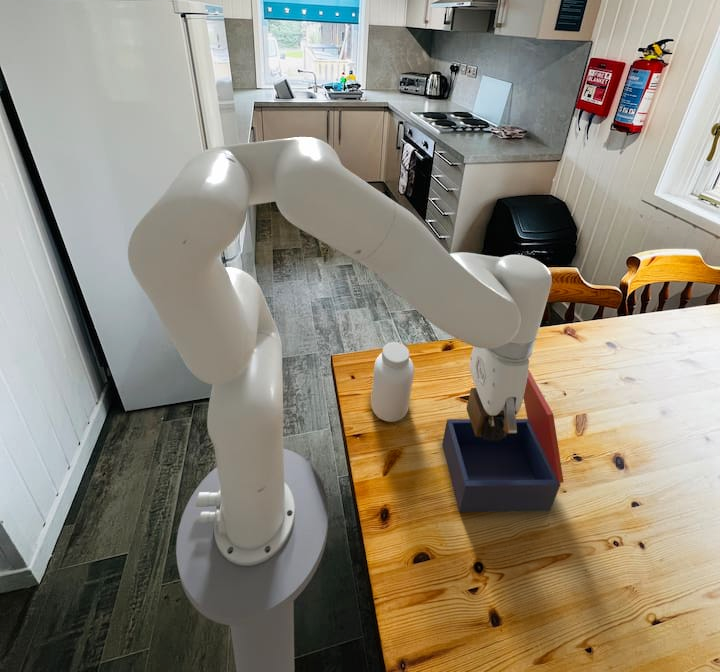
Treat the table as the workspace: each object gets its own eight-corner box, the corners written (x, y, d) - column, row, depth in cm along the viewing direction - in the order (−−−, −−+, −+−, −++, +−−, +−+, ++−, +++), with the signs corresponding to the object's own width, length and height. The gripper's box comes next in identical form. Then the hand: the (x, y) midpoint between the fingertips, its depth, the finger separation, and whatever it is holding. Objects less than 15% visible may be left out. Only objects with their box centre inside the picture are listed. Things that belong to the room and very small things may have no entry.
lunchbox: (458, 512, 65) (465, 486, 62) (442, 443, 75) (446, 418, 73) (550, 510, 66) (560, 484, 63) (520, 443, 76) (528, 418, 74)
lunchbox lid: (548, 415, 57) (553, 414, 57) (514, 354, 67) (519, 353, 67) (558, 483, 63) (563, 482, 63) (527, 417, 74) (531, 416, 74)
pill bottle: (381, 429, 77) (387, 372, 72) (364, 396, 84) (368, 342, 78) (415, 415, 81) (424, 360, 75) (396, 385, 87) (403, 332, 82)
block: (475, 437, 63) (481, 414, 61) (466, 409, 67) (471, 387, 65) (506, 436, 63) (512, 414, 61) (494, 408, 68) (500, 387, 66)
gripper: (465, 298, 66) (450, 379, 73) (504, 383, 50) (480, 475, 57) (508, 299, 66) (489, 379, 73) (561, 383, 51) (530, 475, 58)
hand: (485, 420), depth 65 cm, fingers closed on block, 5 cm apart
